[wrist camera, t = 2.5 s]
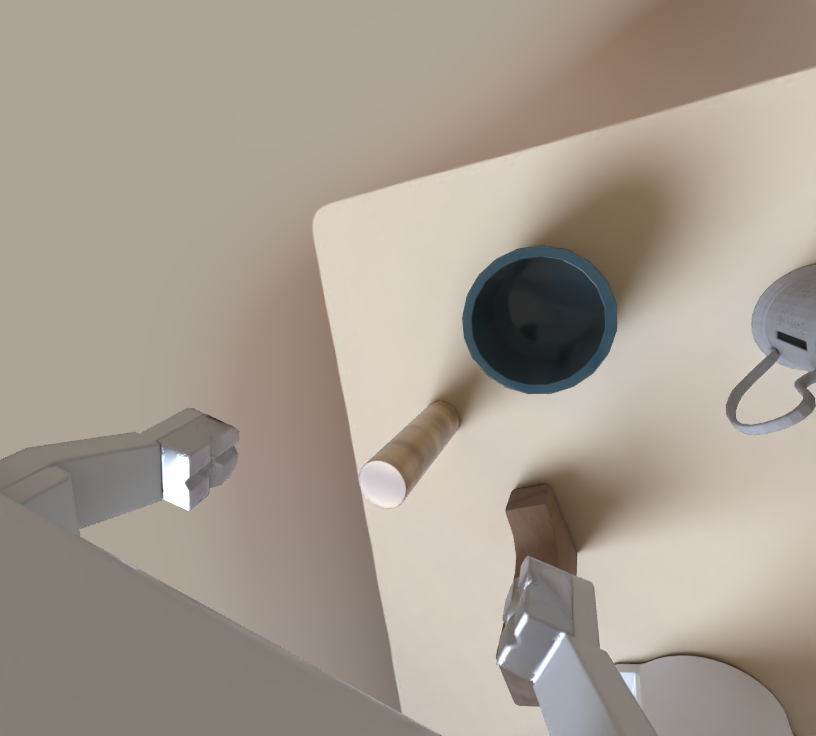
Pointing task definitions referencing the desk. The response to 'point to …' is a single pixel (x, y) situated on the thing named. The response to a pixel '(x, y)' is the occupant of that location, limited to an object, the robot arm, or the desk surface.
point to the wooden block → (536, 554)
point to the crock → (539, 319)
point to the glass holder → (783, 344)
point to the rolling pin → (408, 456)
